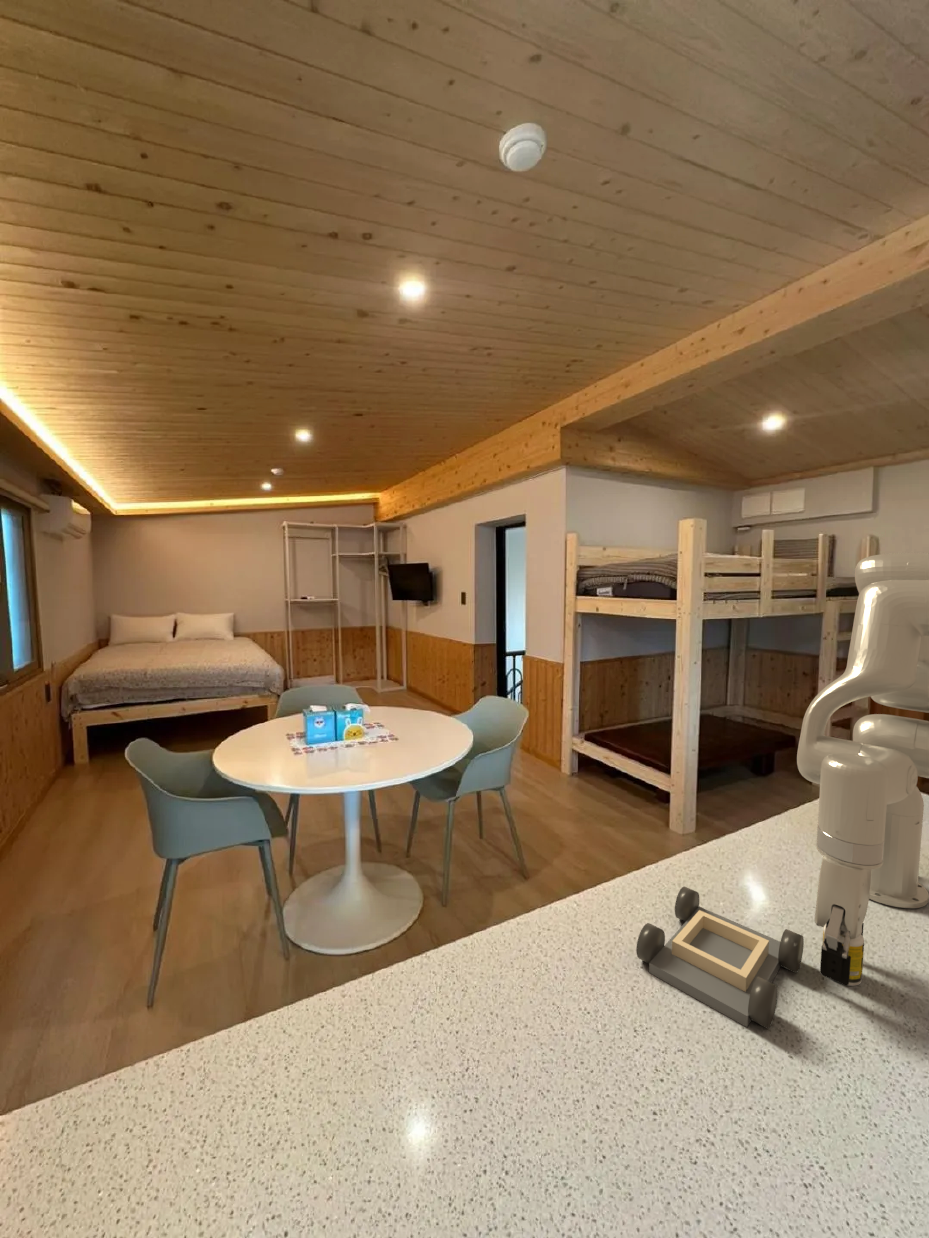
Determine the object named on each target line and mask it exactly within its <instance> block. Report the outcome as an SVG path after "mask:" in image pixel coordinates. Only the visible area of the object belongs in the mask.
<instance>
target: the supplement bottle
mask: <svg viewBox="0 0 929 1238" xmlns="http://www.w3.org/2000/svg"><path fill="white" fill-rule="evenodd" d="M822 928H823V930H822V941H823V940H824V934H825V929H826V924H825V926H824V927H822ZM841 930H843V931H845V932H847V930H848V929H847V928H845V927H843V926H842V927H841ZM861 933H862V927H861V929H860V932H859V934H858V936H857V938H855V939H851V941H850V947H849V953H848V956H851V962H850V977H849V984H848V985H847V986H851V987H853V986H858V985H860V984H861V983H862V980H863V966H864V954H865V953H864V951H865V938H864V935H863V936H862V935H861ZM839 938H840V940H839V942H841V943H842V946H843V945H844V939H845V937H842V936H840V937H839ZM821 944H822V945H823V942H822V943H821ZM822 945H821V946H822ZM835 982H836V983H839V982H837V981H835ZM839 984H840V983H839Z"/></svg>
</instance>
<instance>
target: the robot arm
mask: <svg viewBox="0 0 929 1238" xmlns="http://www.w3.org/2000/svg"><path fill="white" fill-rule="evenodd" d="M854 581H855V585H856V589H857V591H858V598H857V600H856V601H857V602H856V606H855V612H854V618H853V626H852V630H851V638H850V643H849V649H848V654H847V655H848V656H847V663H846V668H845V670H844V672H843V674H841V675H840V676H839V677H838V678H836V679H834V680H833V681H831V683H829V684H827V685H826V686H825V687H824V688H822V689H821V690H820V691H819V692H818V693H817V694H816V695H815V697H814V698H813V699H812V700H811V702H810V704H809V706H808V707H807V709H806V711H805V713H804V716H803V719H802V724H801V730H800V737H799V741H798V746H797V752H796V753H797V754H796V765H797V769H798V771H799V774H800V775H801V776H802V777H803V778H804V779H805V780H807V781H809V782H811V783H813V784H817V785H819V800H818V802H819V803H818V814H817V815H818V816H817V829H816V830H817V831H816V846H815V847H816V850H817V851H818V853H819V854H821V855H822V858H821V864H820V867H819V868H820V870H819V876H818V884H817V893H816V900H815V901H816V904H815V910H814V919H813V921H814V924H815V925H816V926H817V927H821V928H824V926H825V924H826V929H825V934H824V940H823V939H822V943H823V945H821V950H820V951H821V953H820V964H819V965H820V967H819V973H820V974H821V975H822V976H823V977H826V978H827V979H830V980H833V981H834V982H836V981H837V982H836V983H838V982H839V984H842V985H844V986H849V985H848V984H849V977H850V962H851V956H848V953H849V947H850V941H851V939H855V938H857V936H858V934H859V932H860V929H861V927H862V933H861V935H862V936H863V937H864V926H865V924H864V921H865V919H866V916H867V912H868V908H869V903H870V902H869V901H870V900H871V901H874V902H876V903H879V904H883V905H886V906H890V907H895V908H900V909H901V908H902V909H919V908H922V907H925V906H927V905H928V903H929V892H928V890H927V889H926V887H924V885H923V884H922V883H920V882H919V875H920V861H921V849H922V847H921V846H922V834H923V822H924V821H923V819H924V811H925V810H924V809H925V808H924V806H925V802H924V799H923V796H922V793H921V791H920V790H919V787H918V786H917V784H918V777H921V778H926V779H929V720H924V719H918V718H912V717H905V716H899V715H894V714H885V713H882V714H881V713H878V714H877V713H874V714H867V715H864V716H862V717H860V718H859V719H857V721H856V722H855V724H854V726H853V730H852V740H850V739H849V740H848V739H844V738H837V737H833V736H829V735H828V736H827V735H825V732H826V727H827V725H828V722H829V719H830V718H831V717H832V715H833V714H834V713H835V712H836V711H838V710H839V709H840V708H841V707H843V706H845V705H848V704H849V703H851V702H855V701H857V700H861V699H865V698H869V697H870V698H871V699H872V700H873V701H874V703H877V704H879V705H883V706H886V707H890V708H895V709H901V710H906V711H907V710H908V711H915V712H921V713H928V714H929V552H896V553H894V552H892V553H891V552H890V553H882V554H881V553H880V554H875V555H869V556H867V557H864V558H862V559H860V560H859V561H858V563H857V564H856V566H855V568H854ZM842 926H843V927H845V928H847V929H848V930H847V932H845V931H843V930H841V927H842ZM840 936H842V937H845V939H844V945H843V946H842V943H841V942H839V940H840V938H839V937H840Z"/></svg>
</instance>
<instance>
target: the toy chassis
mask: <svg viewBox="0 0 929 1238" xmlns="http://www.w3.org/2000/svg"><path fill="white" fill-rule="evenodd" d="M676 896H677V897H675V898H676V900H675V904H674V915H675V917H676V918H677V919H679V920H681V921H682V922H684V923H683V924H682V925H681V927H679V929H678V930H677V931H676V932H674V935H672V937H671V938H670V939H669V940H668V941H667V942H666V934H665V931H664V930H663V929H661V928H659V927H657V926H656V925H654V924H652V923H650V922H647V923H645V924H644V926H642V928H641V930H640V932H639V935H638V938H637V940H636V941H637V942H636V950H635V951H636V956H637V959H639V960H641V961H643V962H645V963H646V964H648V973H649V974H650V975H652V976H654V977H656V978H658V979H659V980H661V981H663V982H665V983H667V984H668V985H670V986H673V987H674V988H675V989H677V990H680V991H681V992H683V993H685V994H687V995H688V996H690V997H691V998H694V999H695V1000H698V1001H699V1002H701V1003H703V1004H704V1005H706V1006H708V1007H709V1008H712V1009H714V1010H715V1011H717V1012H719V1013H721V1014H723V1015H724V1016H727V1018H729V1019H731V1020H733V1021H735V1022H737V1023H738V1024H739V1025H742V1026H744V1027H746V1028H748V1027H749V1025H750V1023H751V1022H752V1021H753V1022H755V1023H757V1024H759V1025H760V1026H762V1027H764V1028H765V1029H770V1027H771V1026H772V1023H773V1020H774V1018H775V1015H776V1010H777V1005H778V998H779V997H778V995H779V991H778V986H777V985H776V984H774V983H773V981H774V980H775V977H776V976H777V974H778V972H779V970H780V969H781V967H782V968H785V969H786V970H789V971H792V972H793V973H795V974H797V973H798V972H799V969H800V967H801V964H802V959H803V954H804V948H805V947H804V946H805V945H804V943H805V941H804V940H805V939H804V936H803V935H802V934H799V933H797V932H795V931H792V930H790V929H787V928H785V930H783V932H782V936H781V938H780V940H778V939H774V938H773V937H770V936H769V935H765V934H764V933H761V932H759V931H757V930H754V929H752V928H749V927H747V926H745V925H743V924H742V923H741V924H740V923H738V922H736V921H733V920H731V919H729V918H726V917H725V916H722V915H719V914H717V913H715V912H713V911H710V910H709V909H706V908H704V907H701V906H700V894H699V892H698V891H696V890H694V889H691V888H689V887H686V886H682V887H681V888H680V890H678V893H677V895H676ZM665 942H666V944H665Z"/></svg>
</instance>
